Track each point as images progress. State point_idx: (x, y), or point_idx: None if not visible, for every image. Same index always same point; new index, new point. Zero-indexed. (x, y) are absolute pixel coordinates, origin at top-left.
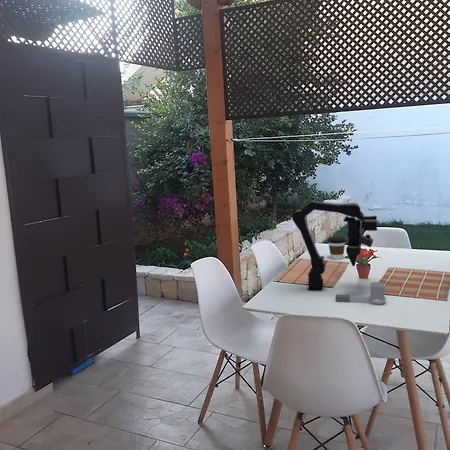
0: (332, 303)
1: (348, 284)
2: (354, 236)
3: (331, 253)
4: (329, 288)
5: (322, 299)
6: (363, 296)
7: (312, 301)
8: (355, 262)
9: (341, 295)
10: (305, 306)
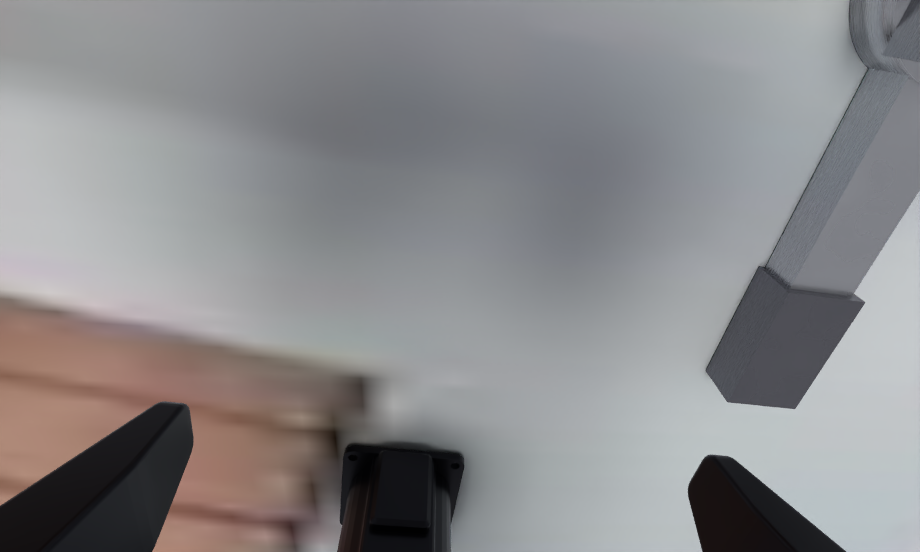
0: None
1: (238, 227)
2: None
3: None
4: (397, 399)
5: (684, 452)
6: (867, 149)
7: None
8: (832, 542)
9: (777, 363)
10: None
